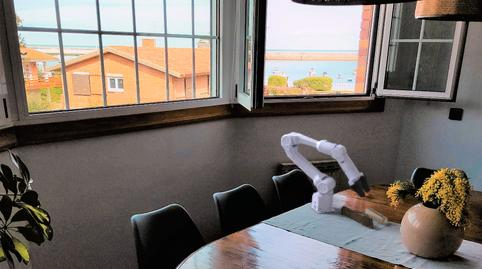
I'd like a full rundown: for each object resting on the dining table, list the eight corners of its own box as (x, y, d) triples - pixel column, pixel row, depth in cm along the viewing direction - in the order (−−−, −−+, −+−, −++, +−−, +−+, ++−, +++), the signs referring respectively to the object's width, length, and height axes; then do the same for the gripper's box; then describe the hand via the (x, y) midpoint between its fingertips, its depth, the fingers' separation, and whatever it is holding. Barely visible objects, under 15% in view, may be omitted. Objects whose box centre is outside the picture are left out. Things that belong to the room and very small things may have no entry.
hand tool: (339, 213, 172) (340, 204, 171) (345, 212, 174) (346, 203, 173) (367, 231, 155) (368, 221, 154) (374, 229, 157) (375, 219, 156)
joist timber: (381, 224, 162) (382, 218, 161) (365, 213, 173) (365, 208, 172) (387, 223, 162) (387, 218, 162) (370, 212, 174) (370, 207, 173)
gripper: (351, 168, 158) (368, 195, 156) (361, 161, 170) (377, 186, 167) (338, 175, 162) (355, 201, 160) (349, 167, 174) (365, 192, 171)
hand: (366, 194), depth 164 cm, fingers open, 7 cm apart
